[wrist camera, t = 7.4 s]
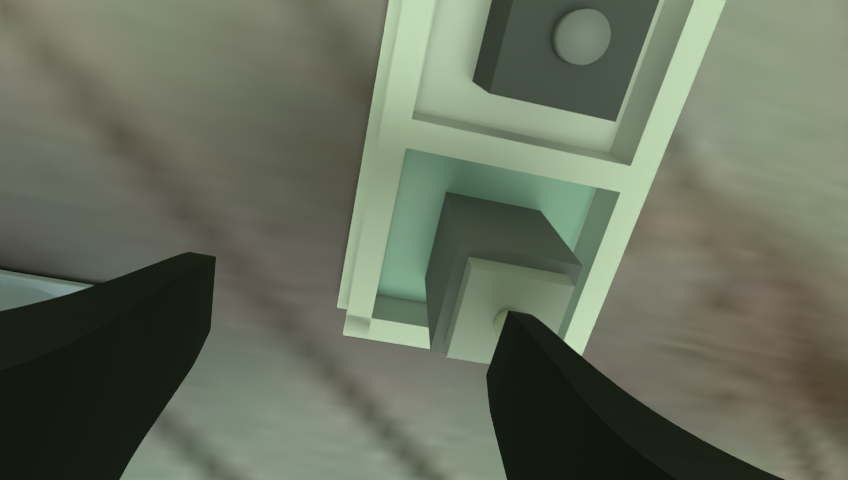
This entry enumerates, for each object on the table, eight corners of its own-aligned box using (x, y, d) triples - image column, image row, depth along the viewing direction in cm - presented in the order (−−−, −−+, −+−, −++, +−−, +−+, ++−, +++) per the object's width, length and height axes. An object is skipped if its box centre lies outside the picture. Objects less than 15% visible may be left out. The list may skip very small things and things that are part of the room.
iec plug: (513, 294, 22) (555, 396, 15) (424, 278, 21) (432, 377, 15) (540, 210, 20) (599, 287, 14) (445, 191, 20) (464, 262, 14)
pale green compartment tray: (563, 332, 24) (585, 373, 21) (340, 294, 23) (330, 332, 20) (713, -61, 18) (775, -80, 15) (415, -144, 16) (417, -183, 13)
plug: (573, 104, 19) (626, 126, 14) (472, 81, 18) (493, 96, 14) (611, -11, 17) (683, -27, 13) (501, -39, 17) (536, -66, 12)
